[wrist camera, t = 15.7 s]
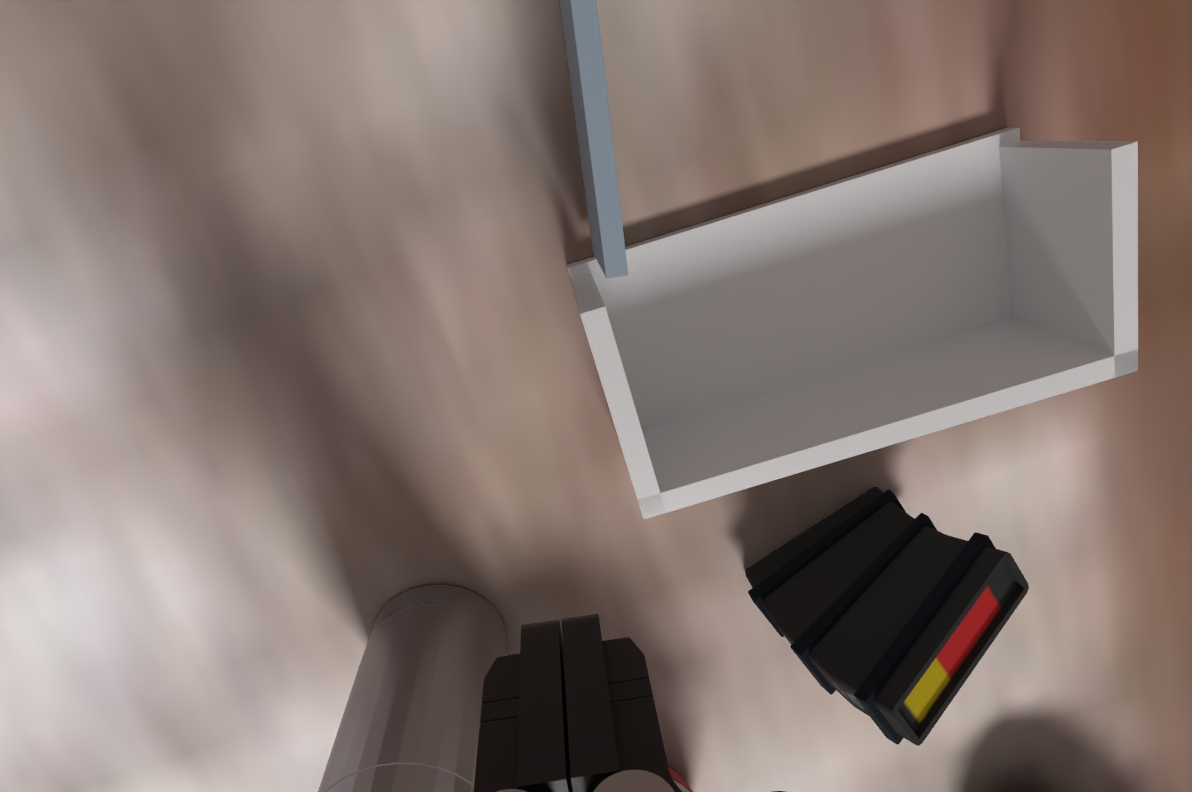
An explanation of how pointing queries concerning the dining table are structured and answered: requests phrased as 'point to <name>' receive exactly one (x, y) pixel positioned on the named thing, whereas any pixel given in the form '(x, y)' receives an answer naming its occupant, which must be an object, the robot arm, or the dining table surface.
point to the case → (866, 312)
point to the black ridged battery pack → (888, 608)
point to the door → (594, 133)
